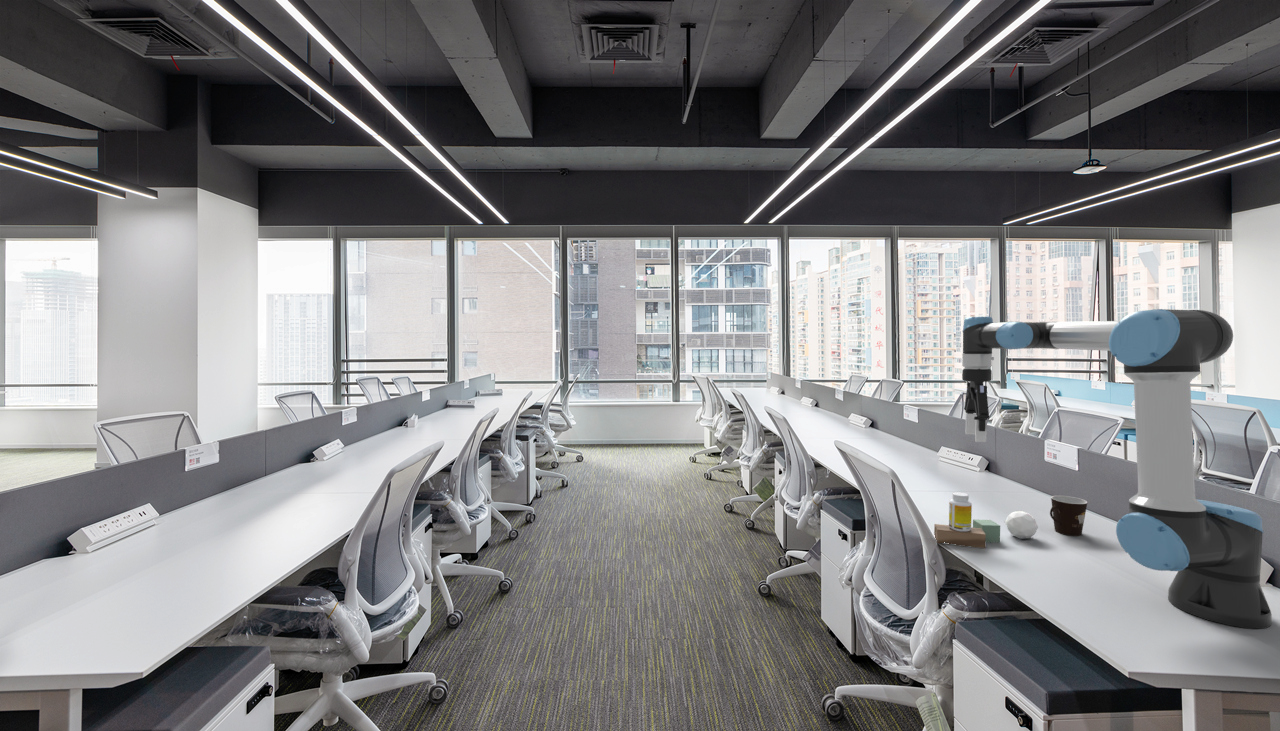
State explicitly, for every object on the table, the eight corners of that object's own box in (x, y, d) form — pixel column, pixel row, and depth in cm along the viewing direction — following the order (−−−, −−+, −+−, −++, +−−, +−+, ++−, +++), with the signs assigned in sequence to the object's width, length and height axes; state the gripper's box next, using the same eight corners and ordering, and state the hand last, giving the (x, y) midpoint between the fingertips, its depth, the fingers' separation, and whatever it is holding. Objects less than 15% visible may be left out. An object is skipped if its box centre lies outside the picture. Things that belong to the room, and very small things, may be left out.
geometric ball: (1025, 545, 161) (1043, 524, 160) (1025, 543, 155) (1044, 522, 154) (1000, 527, 166) (1017, 507, 165) (998, 524, 159) (1017, 504, 159)
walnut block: (985, 548, 151) (985, 534, 151) (937, 543, 156) (937, 529, 155) (981, 542, 156) (981, 528, 156) (934, 537, 160) (934, 523, 160)
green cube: (999, 542, 156) (1000, 525, 156) (981, 542, 156) (982, 525, 156) (990, 536, 161) (990, 519, 161) (972, 535, 161) (973, 519, 161)
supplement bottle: (975, 531, 154) (976, 495, 153) (959, 533, 152) (960, 497, 152) (959, 525, 159) (960, 490, 159) (944, 526, 158) (944, 492, 157)
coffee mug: (1073, 527, 167) (1074, 495, 167) (1093, 537, 159) (1094, 504, 158) (1033, 526, 169) (1034, 495, 168) (1051, 536, 160) (1052, 503, 160)
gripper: (1002, 370, 150) (1001, 446, 151) (981, 366, 173) (980, 431, 174) (971, 370, 152) (970, 444, 153) (954, 366, 176) (953, 430, 177)
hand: (975, 438), depth 164 cm, fingers open, 13 cm apart
